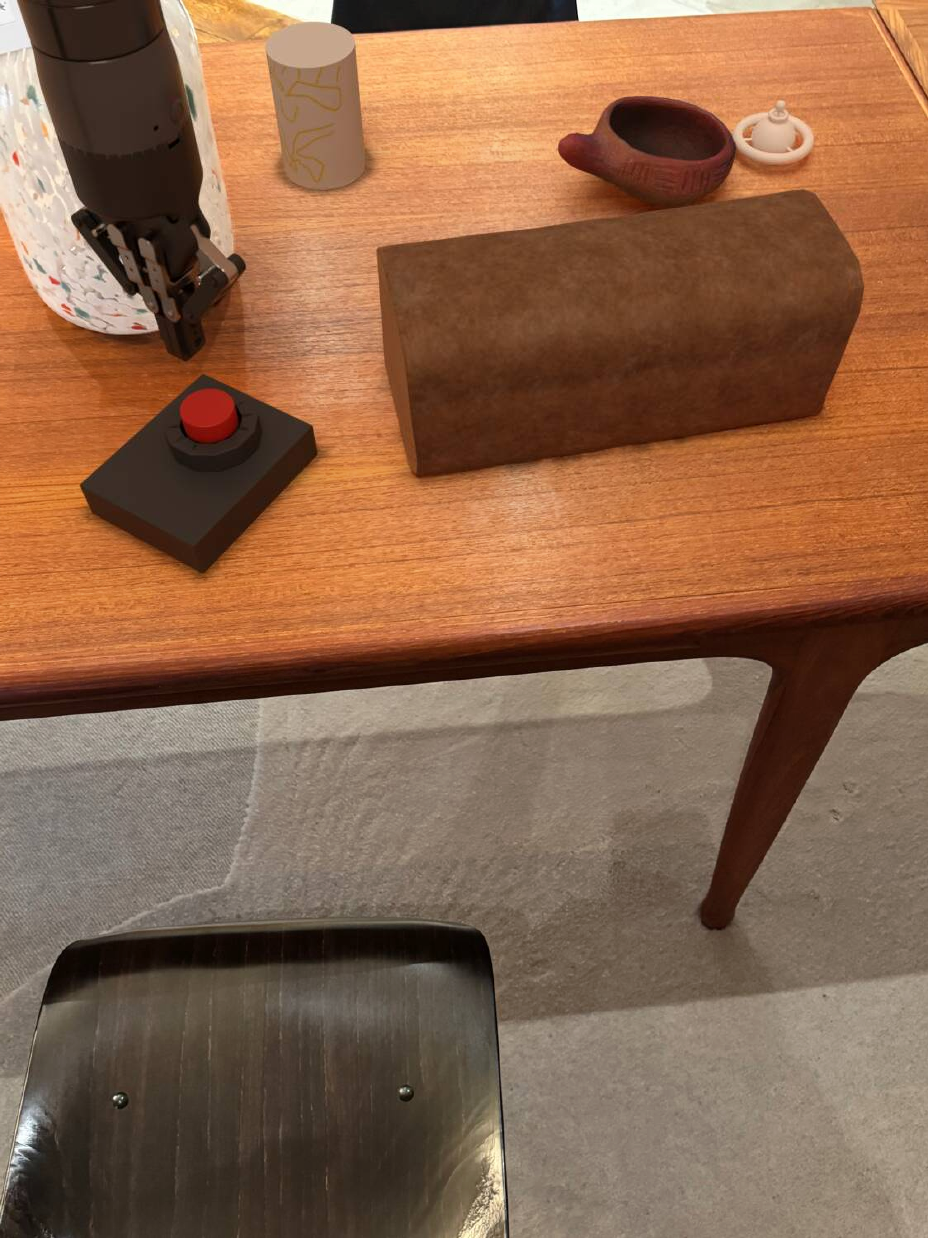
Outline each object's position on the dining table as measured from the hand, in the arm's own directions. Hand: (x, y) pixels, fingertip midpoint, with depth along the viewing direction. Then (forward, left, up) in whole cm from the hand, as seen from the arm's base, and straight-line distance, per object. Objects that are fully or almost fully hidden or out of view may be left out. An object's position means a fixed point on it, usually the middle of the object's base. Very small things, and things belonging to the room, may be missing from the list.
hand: (187, 351), depth 73 cm
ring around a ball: (+62, -20, -12) cm, 66 cm away
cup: (+37, +17, -12) cm, 43 cm away
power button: (0, 0, -7) cm, 7 cm away
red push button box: (-2, 0, -12) cm, 12 cm away
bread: (+23, -21, -12) cm, 34 cm away
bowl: (+49, -13, -12) cm, 52 cm away
